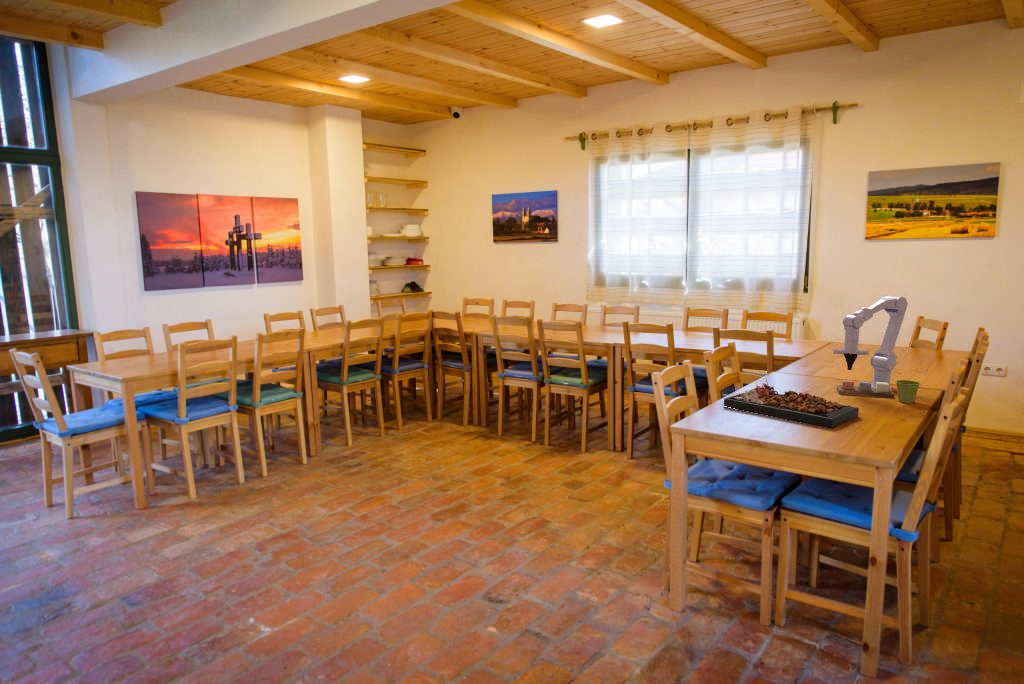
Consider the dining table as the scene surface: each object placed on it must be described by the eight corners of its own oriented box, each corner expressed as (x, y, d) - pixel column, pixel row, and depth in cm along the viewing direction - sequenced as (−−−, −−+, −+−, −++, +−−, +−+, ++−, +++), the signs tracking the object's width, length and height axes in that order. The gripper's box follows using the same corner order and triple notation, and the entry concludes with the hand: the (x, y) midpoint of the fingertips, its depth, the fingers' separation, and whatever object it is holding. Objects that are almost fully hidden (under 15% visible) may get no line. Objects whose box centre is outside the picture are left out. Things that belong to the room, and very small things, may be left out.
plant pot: (922, 404, 273) (924, 384, 271) (898, 403, 274) (900, 384, 273) (913, 399, 282) (915, 380, 280) (890, 398, 284) (891, 379, 282)
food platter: (723, 408, 273) (724, 385, 271) (752, 399, 288) (753, 376, 287) (831, 430, 239) (833, 403, 237) (858, 418, 255) (859, 393, 253)
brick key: (841, 387, 299) (841, 379, 299) (852, 387, 297) (852, 380, 297) (842, 389, 295) (842, 381, 294) (853, 389, 293) (854, 382, 293)
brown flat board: (836, 389, 303) (836, 385, 303) (889, 392, 295) (889, 388, 294) (838, 394, 293) (839, 390, 293) (893, 398, 285) (893, 393, 284)
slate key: (858, 388, 296) (858, 380, 296) (869, 388, 295) (870, 381, 294) (859, 390, 292) (860, 382, 292) (870, 390, 291) (871, 383, 290)
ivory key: (875, 389, 294) (875, 381, 293) (886, 390, 292) (887, 382, 292) (876, 391, 290) (877, 383, 289) (888, 392, 288) (888, 384, 287)
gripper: (835, 341, 294) (833, 370, 296) (870, 342, 289) (868, 372, 291) (833, 339, 301) (831, 367, 303) (868, 340, 295) (866, 369, 297)
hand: (849, 369), depth 297 cm, fingers closed
